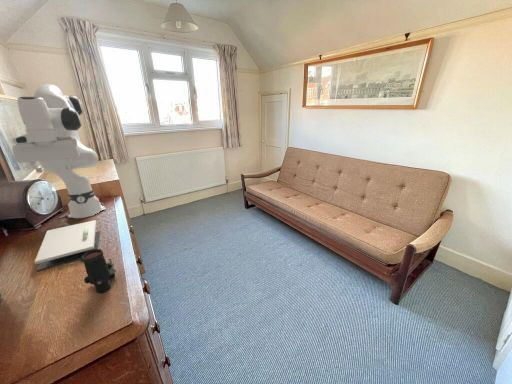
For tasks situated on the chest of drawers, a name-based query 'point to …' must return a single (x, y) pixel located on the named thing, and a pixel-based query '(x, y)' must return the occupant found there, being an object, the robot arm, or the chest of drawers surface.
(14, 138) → the robot arm
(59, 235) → the panel
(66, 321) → the chest of drawers surface
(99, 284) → the scope
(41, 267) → the stage base
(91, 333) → the chest of drawers surface
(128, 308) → the chest of drawers surface
